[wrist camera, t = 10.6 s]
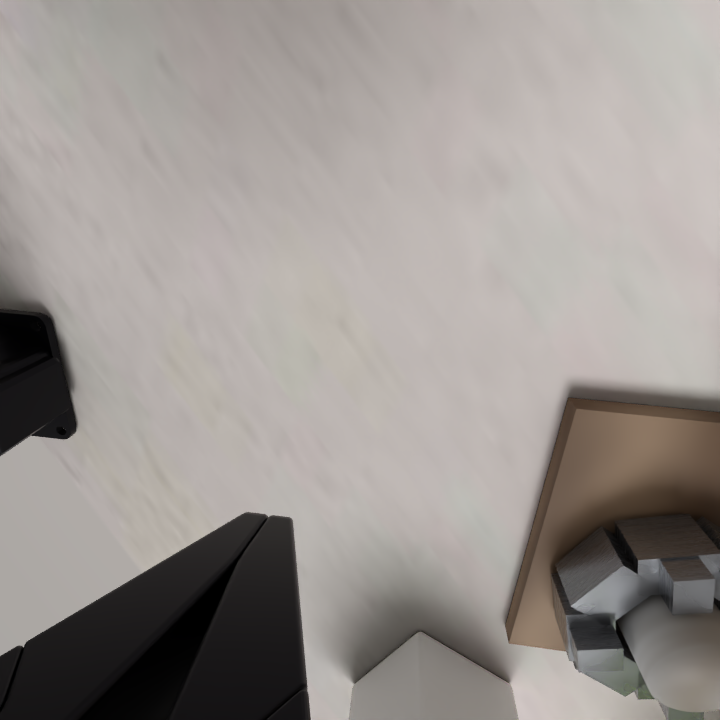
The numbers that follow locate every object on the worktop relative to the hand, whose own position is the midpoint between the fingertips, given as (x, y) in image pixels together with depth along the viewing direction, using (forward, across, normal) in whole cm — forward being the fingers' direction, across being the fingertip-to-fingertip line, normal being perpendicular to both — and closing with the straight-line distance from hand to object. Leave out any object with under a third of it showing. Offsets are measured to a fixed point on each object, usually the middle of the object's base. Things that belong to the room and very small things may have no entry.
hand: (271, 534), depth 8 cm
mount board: (+12, +15, -10) cm, 22 cm away
